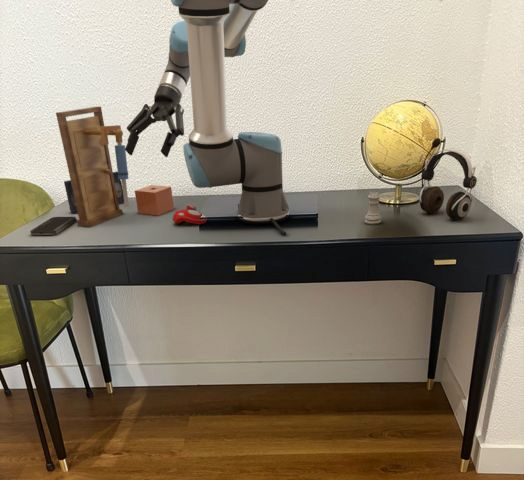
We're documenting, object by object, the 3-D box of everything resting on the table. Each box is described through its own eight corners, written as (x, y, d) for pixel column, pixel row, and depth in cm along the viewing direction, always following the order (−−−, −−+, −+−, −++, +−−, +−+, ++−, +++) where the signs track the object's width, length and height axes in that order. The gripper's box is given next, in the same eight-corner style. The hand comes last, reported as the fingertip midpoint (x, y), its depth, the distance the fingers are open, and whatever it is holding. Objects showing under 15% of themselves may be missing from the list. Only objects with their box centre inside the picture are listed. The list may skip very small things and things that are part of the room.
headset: (408, 212, 153) (415, 138, 143) (427, 207, 157) (434, 134, 147) (458, 225, 141) (469, 145, 131) (477, 219, 144) (489, 140, 135)
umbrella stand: (154, 206, 174) (151, 184, 170) (174, 209, 170) (171, 186, 167) (138, 213, 168) (134, 190, 164) (158, 215, 164) (154, 192, 161)
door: (112, 212, 170) (92, 106, 155) (153, 217, 162) (136, 106, 147) (77, 225, 159) (52, 112, 144) (119, 231, 151) (98, 112, 136)
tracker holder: (213, 218, 154) (182, 216, 148) (210, 232, 156) (179, 231, 151) (195, 200, 162) (165, 198, 156) (192, 214, 164) (162, 212, 158)
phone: (77, 216, 163) (54, 231, 150) (77, 220, 164) (55, 235, 151) (52, 216, 164) (28, 231, 151) (53, 220, 165) (29, 235, 152)
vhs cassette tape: (73, 214, 171) (66, 182, 166) (69, 212, 173) (62, 180, 168) (125, 202, 180) (120, 172, 175) (122, 201, 182) (116, 171, 178)
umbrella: (126, 205, 159) (117, 125, 150) (134, 206, 158) (125, 125, 148) (108, 210, 153) (97, 126, 144) (116, 211, 152) (105, 126, 142)
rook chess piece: (382, 220, 148) (383, 191, 144) (379, 225, 144) (381, 195, 140) (365, 219, 149) (367, 190, 145) (363, 224, 146) (364, 194, 142)
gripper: (209, 101, 161) (186, 162, 157) (144, 101, 172) (121, 159, 168) (197, 83, 154) (172, 146, 151) (131, 84, 165) (106, 144, 162)
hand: (145, 153), depth 159 cm, fingers open, 13 cm apart
